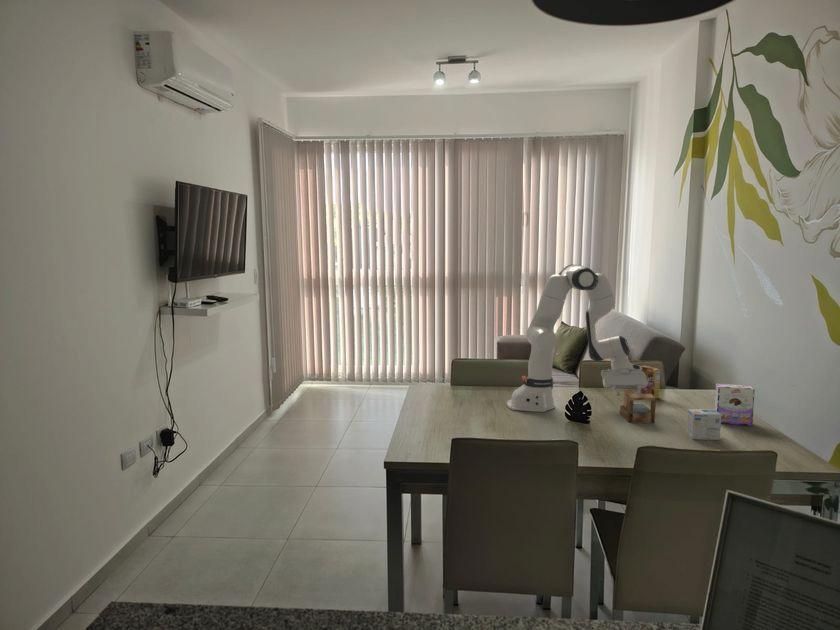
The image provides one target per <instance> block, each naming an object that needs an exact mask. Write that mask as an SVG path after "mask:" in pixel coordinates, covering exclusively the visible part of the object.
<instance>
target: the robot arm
mask: <svg viewBox="0 0 840 630" xmlns="http://www.w3.org/2000/svg"><path fill="white" fill-rule="evenodd" d="M572 289H573V290H579V291H586V293H587V296H588V300H589V307H588V309H587V310H586V311H585V324H586V326H585V327H586V335H587V354H588V356H589V358H590V360H592V361H594V362H597V363H599V362H602V361H605V360H608V359H609V360H610V363H611V364H610V366H611V369H603V370H601V372H600V376H601V378H602V385H603V388H605V389H611V390H612V392H614V395H615V397H619V396H620V394H621V393H620V391H619V390H618V389H636V390H635V391H636V392H635V394H640V389H641V388H646V386H647V385H648V381H647V378H646V375H645V373H644V372H643V371H642V367H641V366H642V365H638V364H635V363H631V362H630V360H629V354H630V352H631V351H630V349H629V343H628V339H626V337H624V336H621V335H615V336H612V337H611V336H610V337H607V338H603V339H597V333H596V324H597V323H598V321H599V320H600V319H602V318H603V317H606V316H607V315H608V314H609V313H611V312H612V310H613V309H614V307H615V302H616V301H615V296H614V292H613V289H612V286H611V284H610V281H609V280H608V277H607V276H606V274H604V273H601V272H594V271H593V270H592V269H591V268H590V267H587V266H584V265H581V264H568V265H567V266H565V267H564V268H562V270H560V272H559V273H557V274H556V273H555V274H552V275H550V276H549V277H548V279H547V281H546V283H545V285H544V287H543V290H542V292H541V295H540V300H539V302H538V306H537V308H536V311H535V314H534V315H533V318H532V319H531V321H530V324H529V326H528V328H527V329H526V332H525V333H526V339H527V341H528V343H529V344H530V345H531V348H530V355H529V358H528V368H527V369H528V373H527V374H528V375H527V376H526V375H522V377H521V380H522V381H523V384H522V385H521V386H519V387H518V388H516V389H515V390H514V391H513V393H512V395H511V399H509V400H507V401H506V406H507V407H508V408H509V409H510V410H512V411H521V412H524V411H525V412H540V413H544V412H547V411H549V410H553V409H554V408H555V407H556V405H555V401H554V397H553V396H554V395H553V390H554V389H553V388H554V378H553V362H554V361H553V360H554V356H555V351H556V346H557V343H558V338H557V336H556V333H555V332H554V331H553V330H554V328H555V325H556V324H557V322H558V320H559V319H560V318H561V316H562V315H561V314H562V312H563V309H564V305H565V303H566V299H567V295H568V293H569V291H571V290H572Z"/></svg>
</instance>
